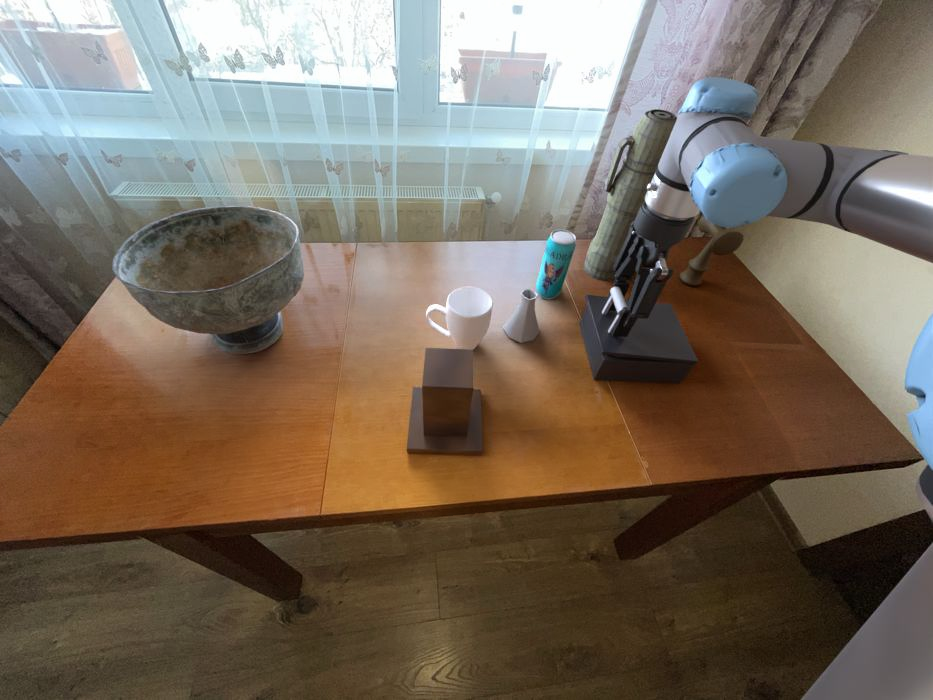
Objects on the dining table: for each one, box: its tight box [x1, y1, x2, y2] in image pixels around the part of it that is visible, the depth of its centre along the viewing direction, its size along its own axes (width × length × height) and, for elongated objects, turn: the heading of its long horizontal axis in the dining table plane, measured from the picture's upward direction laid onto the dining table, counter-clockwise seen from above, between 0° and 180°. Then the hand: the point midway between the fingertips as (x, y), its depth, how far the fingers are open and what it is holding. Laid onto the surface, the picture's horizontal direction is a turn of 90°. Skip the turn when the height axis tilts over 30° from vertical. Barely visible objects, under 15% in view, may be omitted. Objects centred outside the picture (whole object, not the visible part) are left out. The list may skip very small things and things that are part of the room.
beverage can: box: [535, 229, 577, 301], centre depth 86 cm, size 6×6×15 cm
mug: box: [425, 286, 494, 351], centre depth 75 cm, size 12×8×11 cm
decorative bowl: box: [111, 205, 305, 355], centre depth 72 cm, size 26×26×20 cm
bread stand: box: [406, 347, 484, 456], centre depth 62 cm, size 12×12×15 cm
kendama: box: [679, 215, 744, 287], centre depth 91 cm, size 6×10×20 cm, turn 0°
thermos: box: [583, 108, 678, 281], centre depth 86 cm, size 9×12×35 cm
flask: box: [502, 287, 540, 344], centre depth 80 cm, size 7×7×10 cm
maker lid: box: [584, 287, 699, 364], centre depth 74 cm, size 18×15×7 cm
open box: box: [578, 305, 697, 384], centre depth 79 cm, size 17×15×6 cm
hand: (614, 321), depth 75 cm, fingers closed on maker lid, 6 cm apart
